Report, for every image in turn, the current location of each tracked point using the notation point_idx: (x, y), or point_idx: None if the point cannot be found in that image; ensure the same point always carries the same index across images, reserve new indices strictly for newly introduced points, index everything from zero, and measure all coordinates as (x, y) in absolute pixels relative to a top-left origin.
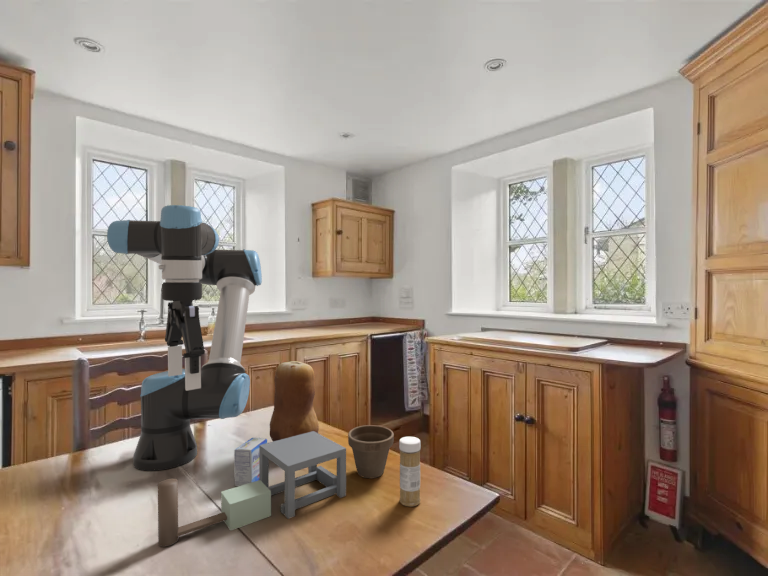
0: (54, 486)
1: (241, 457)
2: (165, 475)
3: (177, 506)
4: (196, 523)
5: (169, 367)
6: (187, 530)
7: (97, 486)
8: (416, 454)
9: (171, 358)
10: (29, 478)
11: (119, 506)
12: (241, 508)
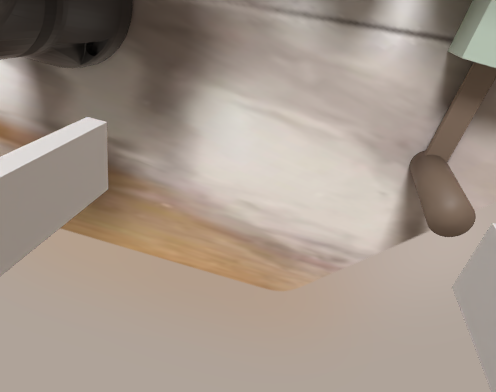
0: None
1: None
2: (159, 36)
3: (457, 181)
4: (454, 123)
5: (74, 212)
6: (456, 145)
7: (121, 145)
8: None
9: (29, 234)
10: None
11: (228, 155)
12: None
